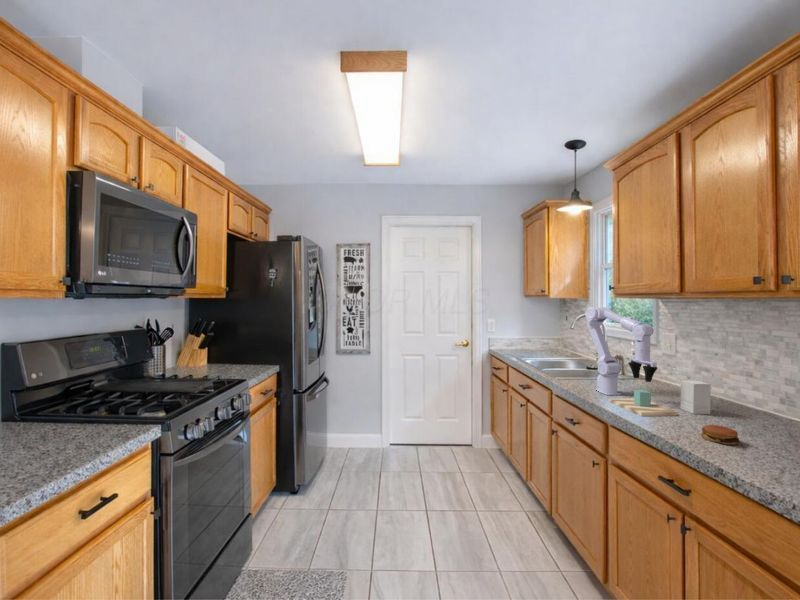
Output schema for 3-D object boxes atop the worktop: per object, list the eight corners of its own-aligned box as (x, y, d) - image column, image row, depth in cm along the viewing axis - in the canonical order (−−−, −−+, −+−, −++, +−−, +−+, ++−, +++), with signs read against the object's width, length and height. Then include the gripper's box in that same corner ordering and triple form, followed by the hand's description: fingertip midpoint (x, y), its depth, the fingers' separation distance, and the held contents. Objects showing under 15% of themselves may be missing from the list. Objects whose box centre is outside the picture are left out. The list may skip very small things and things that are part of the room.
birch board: (609, 401, 168) (609, 398, 168) (642, 401, 169) (642, 398, 169) (641, 416, 148) (641, 412, 148) (678, 415, 149) (678, 411, 149)
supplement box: (711, 414, 151) (711, 384, 151) (692, 414, 151) (693, 383, 151) (696, 409, 159) (697, 380, 158) (679, 408, 159) (680, 379, 159)
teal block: (633, 403, 161) (634, 389, 161) (644, 403, 160) (644, 390, 160) (639, 406, 156) (640, 392, 156) (650, 406, 156) (650, 392, 156)
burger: (695, 434, 129) (695, 421, 129) (724, 436, 127) (725, 423, 127) (714, 445, 119) (714, 431, 119) (746, 448, 117) (747, 433, 117)
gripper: (623, 348, 175) (623, 376, 175) (646, 352, 160) (645, 383, 160) (637, 348, 175) (637, 376, 175) (661, 352, 161) (660, 383, 161)
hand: (642, 379), depth 168 cm, fingers open, 7 cm apart
